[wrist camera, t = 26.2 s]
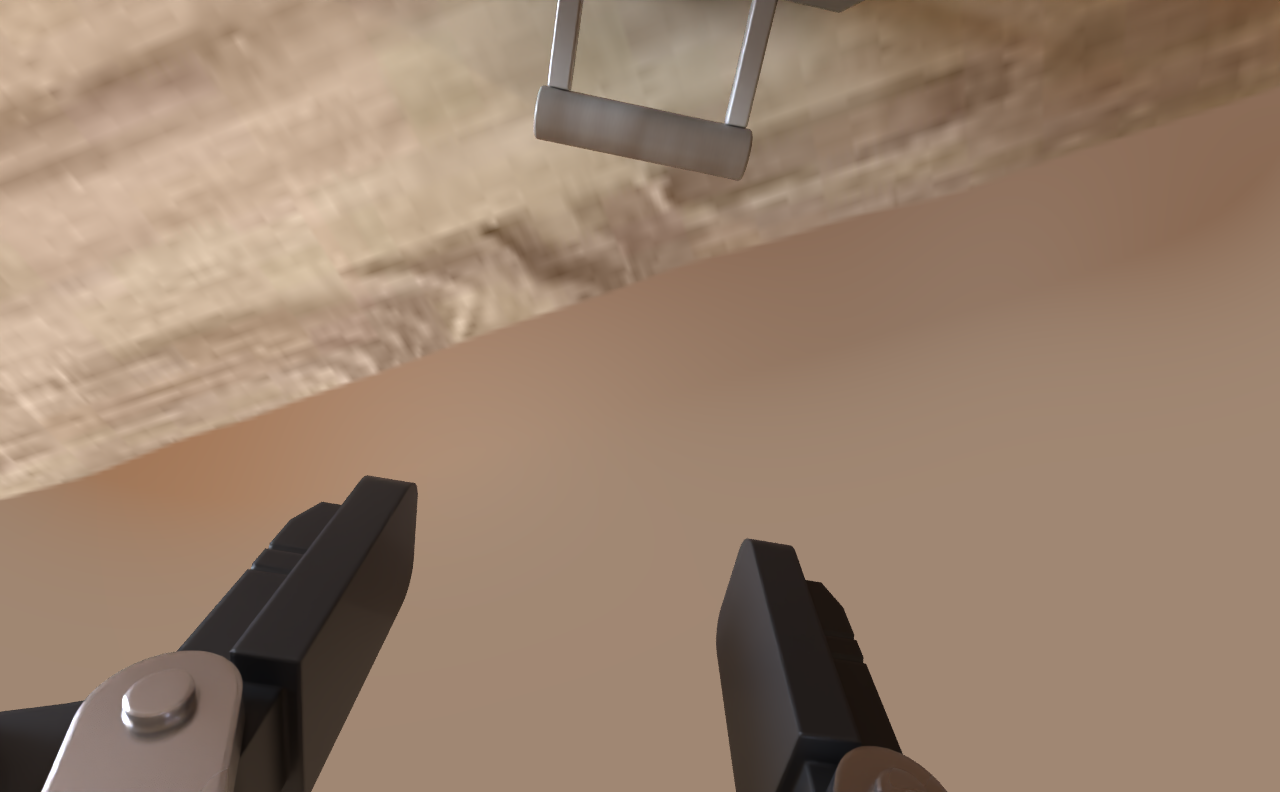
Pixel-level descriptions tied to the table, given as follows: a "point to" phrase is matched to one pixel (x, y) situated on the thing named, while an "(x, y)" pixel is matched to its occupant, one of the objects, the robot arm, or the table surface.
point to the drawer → (655, 129)
